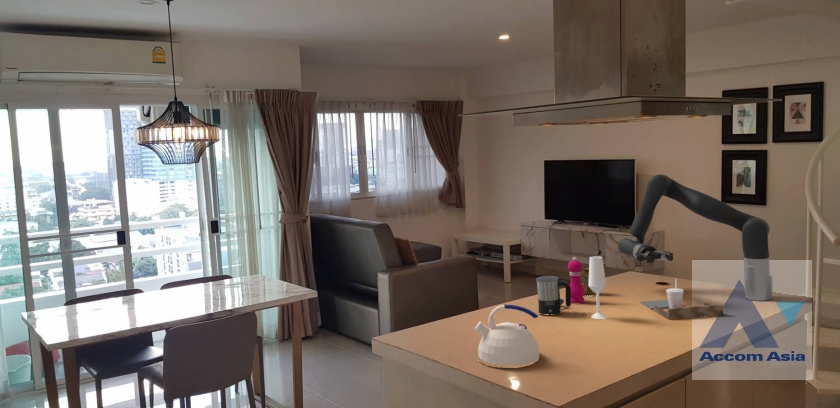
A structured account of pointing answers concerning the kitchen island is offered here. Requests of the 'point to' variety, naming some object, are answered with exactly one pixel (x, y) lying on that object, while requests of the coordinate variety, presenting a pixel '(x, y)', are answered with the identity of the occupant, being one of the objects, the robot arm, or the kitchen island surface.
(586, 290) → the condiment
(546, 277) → the milk frother
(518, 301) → the kitchen island surface
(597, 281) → the champagne flute
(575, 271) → the pepper mill
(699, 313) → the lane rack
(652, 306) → the slate mat
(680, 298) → the smoothie
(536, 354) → the kettle
